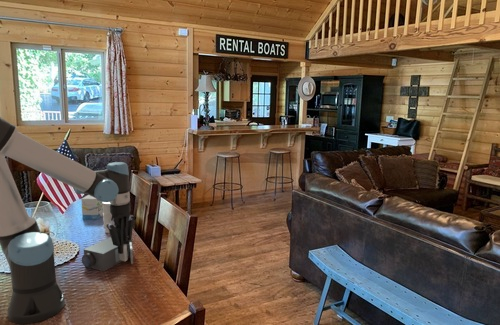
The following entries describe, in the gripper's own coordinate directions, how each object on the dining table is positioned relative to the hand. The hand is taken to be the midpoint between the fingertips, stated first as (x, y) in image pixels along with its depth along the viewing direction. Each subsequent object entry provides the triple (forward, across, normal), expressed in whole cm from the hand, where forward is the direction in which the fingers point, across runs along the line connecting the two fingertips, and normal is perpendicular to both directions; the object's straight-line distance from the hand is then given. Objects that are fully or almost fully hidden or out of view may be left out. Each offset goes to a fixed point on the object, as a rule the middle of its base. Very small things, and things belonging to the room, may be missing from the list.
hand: (123, 260), depth 144 cm
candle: (+3, +26, +32) cm, 42 cm away
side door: (+2, +4, 0) cm, 5 cm away
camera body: (+2, 0, +8) cm, 8 cm away
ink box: (+3, +38, +57) cm, 69 cm away
